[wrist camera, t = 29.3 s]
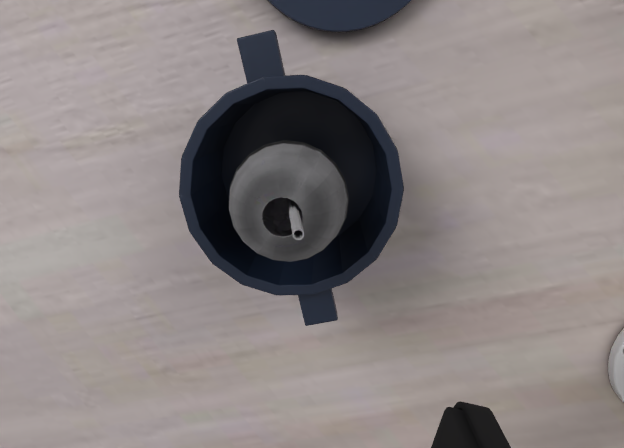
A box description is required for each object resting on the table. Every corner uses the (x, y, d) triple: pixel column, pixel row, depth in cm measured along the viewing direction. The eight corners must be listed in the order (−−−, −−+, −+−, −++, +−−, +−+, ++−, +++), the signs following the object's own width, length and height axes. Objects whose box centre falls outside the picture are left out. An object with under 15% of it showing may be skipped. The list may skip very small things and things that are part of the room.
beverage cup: (243, 147, 38) (157, 195, 19) (324, 115, 37) (321, 130, 18) (276, 226, 40) (228, 343, 20) (354, 196, 39) (382, 291, 20)
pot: (361, 28, 36) (373, 3, 27) (402, 262, 41) (423, 309, 32) (185, 69, 37) (138, 59, 28) (245, 292, 42) (222, 345, 33)
